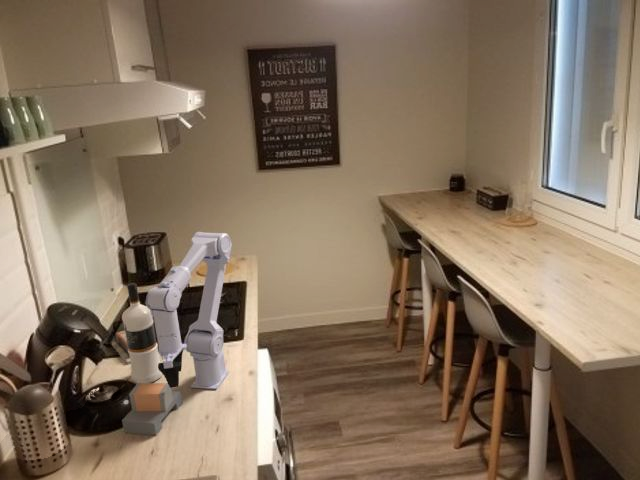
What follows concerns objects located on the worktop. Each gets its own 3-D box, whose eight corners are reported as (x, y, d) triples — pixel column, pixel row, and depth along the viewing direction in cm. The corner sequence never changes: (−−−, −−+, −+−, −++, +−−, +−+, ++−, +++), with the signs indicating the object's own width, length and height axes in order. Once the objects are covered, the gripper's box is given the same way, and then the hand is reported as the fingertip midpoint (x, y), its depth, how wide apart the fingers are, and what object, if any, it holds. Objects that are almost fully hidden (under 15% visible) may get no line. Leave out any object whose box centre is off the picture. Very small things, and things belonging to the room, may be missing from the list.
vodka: (165, 380, 155) (149, 286, 146) (132, 388, 152) (114, 292, 143) (162, 366, 163) (147, 276, 154) (131, 373, 160) (114, 281, 151)
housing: (132, 411, 135) (129, 394, 133) (140, 399, 140) (137, 383, 138) (165, 411, 134) (163, 394, 132) (173, 399, 139) (170, 383, 137)
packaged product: (108, 333, 178) (137, 324, 183) (111, 346, 179) (139, 336, 185) (125, 352, 164) (156, 342, 170) (127, 366, 165) (158, 355, 171)
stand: (153, 400, 145) (151, 389, 144) (182, 402, 143) (180, 391, 142) (124, 432, 132) (121, 420, 131) (156, 435, 130) (154, 423, 129)
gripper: (181, 342, 127) (188, 391, 131) (186, 318, 141) (193, 362, 145) (151, 346, 126) (160, 395, 130) (159, 321, 140) (167, 366, 144)
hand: (175, 378), depth 137 cm, fingers open, 7 cm apart
